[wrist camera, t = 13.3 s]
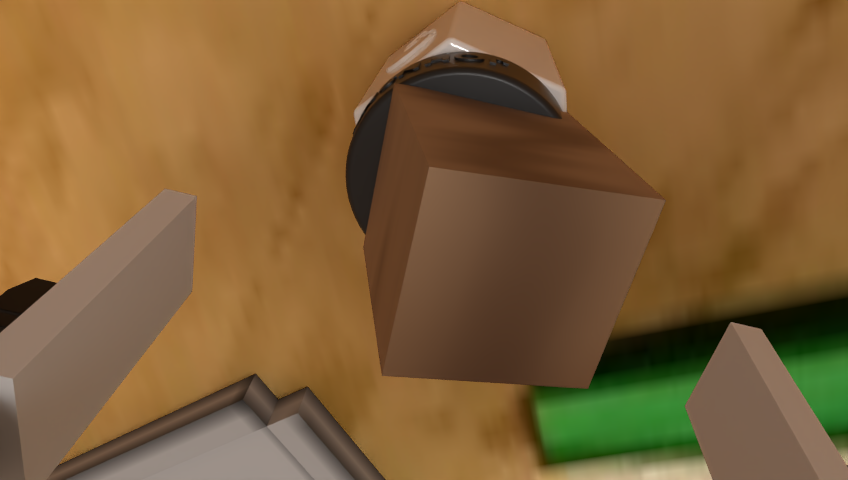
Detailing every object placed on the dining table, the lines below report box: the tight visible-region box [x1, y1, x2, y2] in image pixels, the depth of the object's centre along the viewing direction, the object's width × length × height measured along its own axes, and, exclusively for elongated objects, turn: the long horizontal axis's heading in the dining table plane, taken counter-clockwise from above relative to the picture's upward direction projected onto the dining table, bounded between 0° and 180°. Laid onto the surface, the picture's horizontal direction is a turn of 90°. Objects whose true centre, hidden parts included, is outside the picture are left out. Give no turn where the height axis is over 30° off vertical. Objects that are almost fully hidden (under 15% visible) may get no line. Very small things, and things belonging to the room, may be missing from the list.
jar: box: [346, 2, 567, 235], centre depth 27 cm, size 9×8×12 cm
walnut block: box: [363, 83, 666, 389], centre depth 19 cm, size 6×6×7 cm
